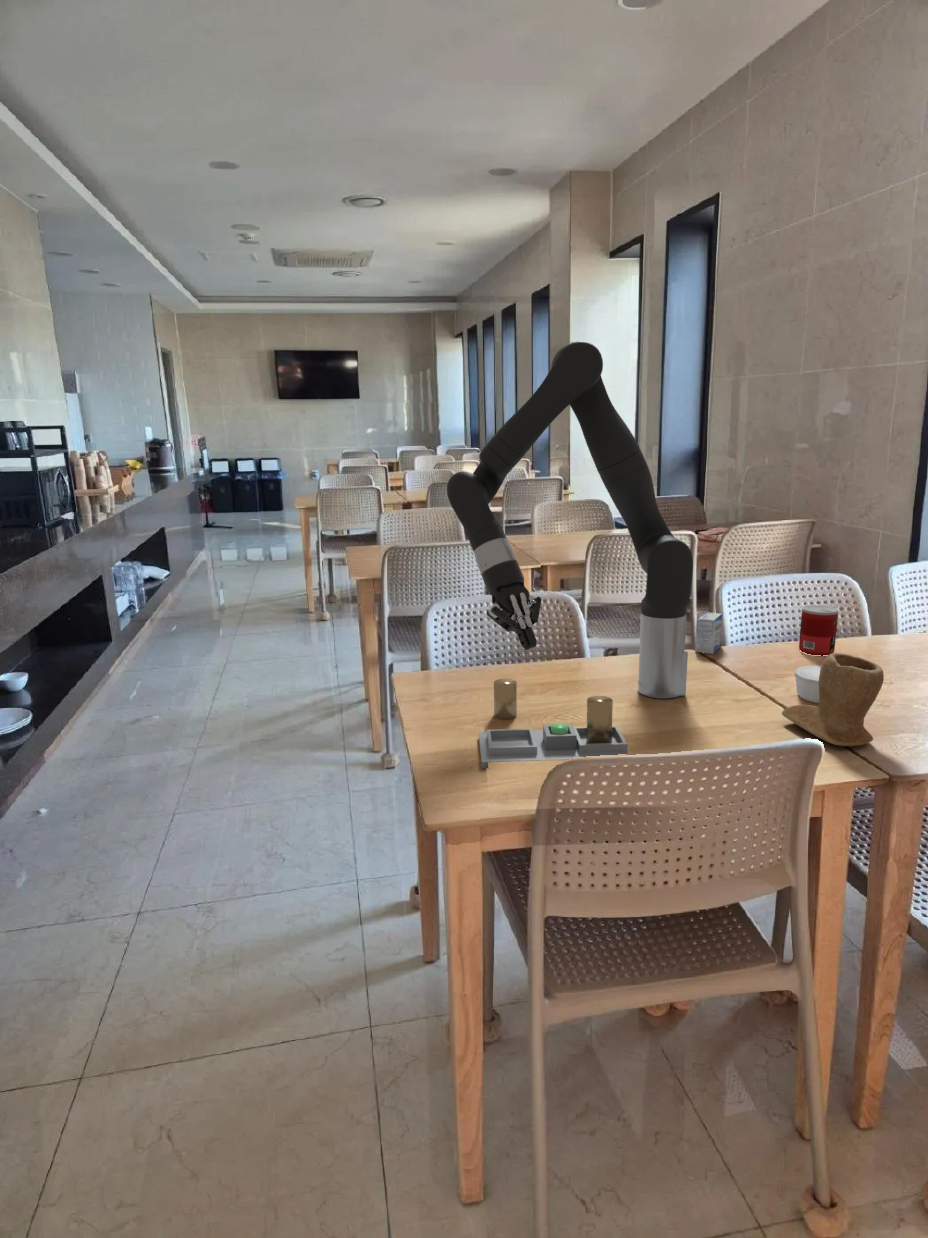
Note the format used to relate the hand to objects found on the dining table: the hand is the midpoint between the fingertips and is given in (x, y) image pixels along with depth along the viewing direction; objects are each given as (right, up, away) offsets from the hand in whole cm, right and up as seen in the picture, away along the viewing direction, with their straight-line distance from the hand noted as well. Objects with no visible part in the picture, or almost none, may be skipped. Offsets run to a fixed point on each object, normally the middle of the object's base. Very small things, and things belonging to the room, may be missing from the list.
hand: (531, 648), depth 149 cm
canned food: (+73, -3, +42) cm, 85 cm away
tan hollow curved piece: (+54, -16, -7) cm, 57 cm away
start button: (+4, -16, -12) cm, 20 cm away
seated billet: (+11, -16, -11) cm, 23 cm away
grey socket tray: (+3, -18, -11) cm, 21 cm away
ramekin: (+61, -11, +11) cm, 63 cm away
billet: (-5, -14, +3) cm, 15 cm away
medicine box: (+48, -2, +46) cm, 67 cm away
